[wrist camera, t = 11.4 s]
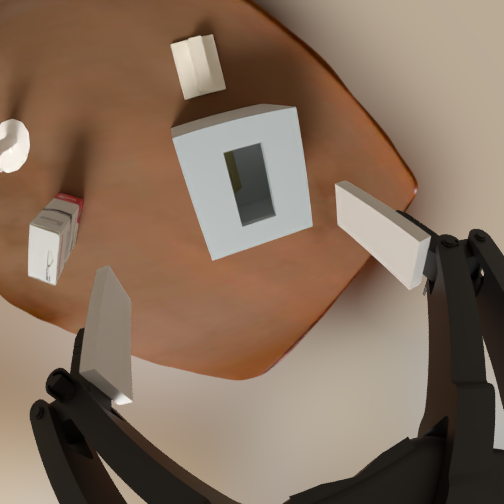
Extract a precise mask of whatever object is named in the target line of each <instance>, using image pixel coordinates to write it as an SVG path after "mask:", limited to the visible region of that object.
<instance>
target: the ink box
mask: <svg viewBox="0 0 504 504" xmlns="http://www.w3.org/2000/svg"><path fill="white" fill-rule="evenodd" d="M83 201H84V200H83V199H81V198H77V197H74V196H71V195H67V194H63V193H58V194H57V195H56V196H55V197H54V198H53V199H52V200H51V201H50V202H49V203H48V204H47V205H46V207H45V208H44V209H43V210H42V211H41V212H40V213H39V214H38V215H37V216H36V217H35V218H34V220H33V221H32V222H31V223H30V231H29V250H28V276H29V277H32V278H35V279H37V280H40V281H43V282H46V283H49V284H52V285H56V283H57V281H58V279H59V277H60V275H61V272H62V270H63V268H64V266H65V264H66V262H67V260H68V258H69V256H70V254H71V252H72V250H73V248H74V246H75V243H76V237H77V231H78V225H79V220H80V215H81V210H82V206H83Z"/></svg>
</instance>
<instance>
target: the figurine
mask: <svg viewBox="0 0 504 504" xmlns="http://www.w3.org/2000/svg"><path fill="white" fill-rule="evenodd" d="M29 149H30V142H29V132H28V131H27V129H26V128H25V126H24V124H23V123H22V122H20V121H17V120H15V119H10V120H7V121H5V122H2V123H1V124H0V172H2V171H4V172H7V173H10V172H13V171H16V170H18V169H19V168H20V167H21V166H22V165H23V163H24V162H25V161H26V159H27V155H28V152H29Z"/></svg>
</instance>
